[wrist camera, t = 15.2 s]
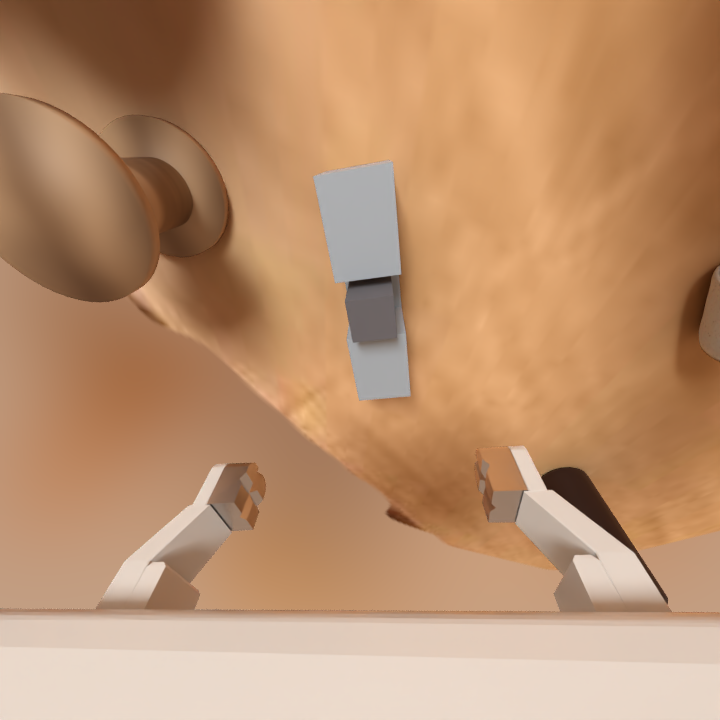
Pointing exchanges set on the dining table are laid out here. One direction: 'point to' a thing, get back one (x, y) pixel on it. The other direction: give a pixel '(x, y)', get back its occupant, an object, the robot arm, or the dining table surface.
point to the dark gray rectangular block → (371, 309)
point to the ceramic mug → (711, 319)
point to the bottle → (591, 506)
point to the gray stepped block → (367, 264)
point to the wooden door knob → (101, 199)
